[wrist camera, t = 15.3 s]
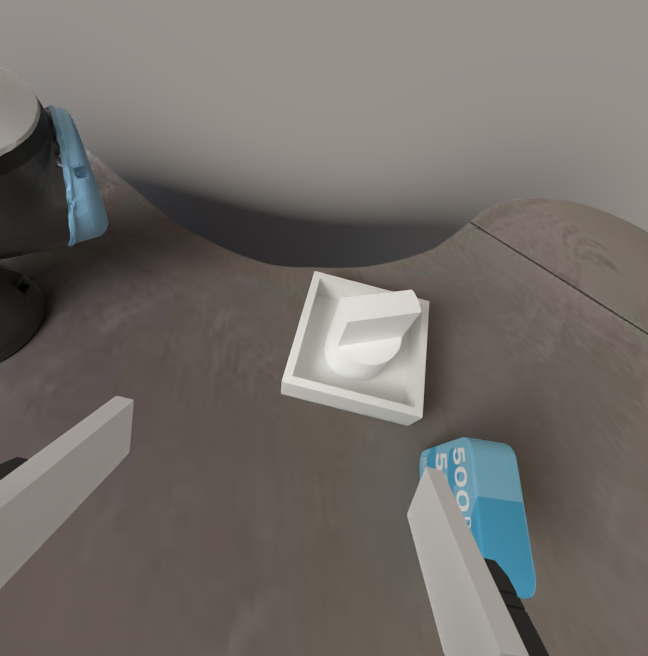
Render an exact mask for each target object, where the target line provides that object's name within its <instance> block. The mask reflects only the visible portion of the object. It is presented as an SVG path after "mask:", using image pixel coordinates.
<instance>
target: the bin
mask: <svg viewBox="0 0 648 656" xmlns="http://www.w3.org/2000/svg"><path fill="white" fill-rule="evenodd" d="M387 292H392V291H389V290H385V289H381V288H377V287H373V286H370V285H366V284H362V283H358V282H354V281H351V280H347V279H343V278H339V277H336V276H332V275H328V274H324V273H320V272H317V271H314V275H313V278H312V282H311V285H310V288H309V292H308V295H307V298H306V302H305V305H304V308H303V312H302V315H301V319H300V322H299V325H298V329H297V332H296V335H295V339H294V342H293V345H292V349H291V352H290V356H289V359H288V362H287V366H286V369H285V372H284V376H283V379H282V385H281V394H284V395H288V396H292V397H295V398H299V399H303V400H307V401H311V402H315V403H319V404H323V405H327V406H331V407H335V408H338V409H342V410H346V411H350V412H354V413H358V414H362V415H366V416H370V417H374V418H378V419H381V420H385V421H389V422H393V423H397V424H401V425H405V426H409V425H410V424H412V423H414V422H416V421H418V420H419V419H421V418H422V417H423V400H424V384H425V367H426V350H427V333H428V316H429V301H427V300H423V299H419V298H418V300H419V304H420V307H421V313H420V314H419V316H418V317H417V318H416V319H415V321H414V322H413V323H412V325H411V326H410V327H409V328H408V330H407V331H406V332H405V333H404V335H403V336H402V340H401V345H400V348H399V350H398V352H397V353H396V354H395V356H394V357H393V358H392V359H391V360H390V362H389V363H388V364H387V365H386V366H385V368H384V369H383V370H382V371H381V372H380V374H379V375H377V376H376V377H374V378H373V379H370V380H367V381H357V382H356V381H351V380H347V379H345V378H343V377H341V376H339V375H338V374H337V373H336V372H335V371H333V370H332V368H331V367H330V365H329V364H328V362H327V360H326V357H325V351H324V346H325V341H326V338H327V335H328V332H329V329H330V325H331V322H332V319H333V317H334V316H335V313H336V310H337V307H338V304H339V301H340V298H344V297H353V296H361V295H370V294H379V293H387Z"/></svg>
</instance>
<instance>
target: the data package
mask: <svg viewBox="0 0 648 656" xmlns="http://www.w3.org/2000/svg"><path fill="white" fill-rule="evenodd" d="M419 466H420V480H421V477H422V475H423V472H424V470H425V467H430V468H434V469H438V470H442V471H443V473H444V475H445V477H446V480H447V482H448V484H449V486H450V488H451V490H452V492H453V494H454V497H455V499H456V501H457V503H458V505H459V507H460V509H461V512H462V514H463V516H464V518H465V520H466V522H467V524H468V526H469V529H470V531H471V533H472V535H473V537H474V539H475V541H476V544H477V546H478V548H479V550H480V552H481V554H482V556H483V558H487V559H491V560H495V561H496V562H497V563H498V565H499V566H500V567H501V568H502V569H503V571H504V572H505V573H506V574H507V576H508V577H509V579H510V581H511V583H512V585H513V587H514V589H515V590H516V592H517V597H519V598H524V599H528V598H531V597H532V596H533V595H534V593H535V591H536V574H535V568H534V562H533V555H532V549H531V543H530V537H529V531H528V525H527V519H526V513H525V507H524V501H523V495H522V489H521V483H520V477H519V471H518V464H517V459H516V455H515V453H514V451H513V449H512V448H511V447H510V446H509V445H507V444H505V443H500V442H493V441H487V440H481V439H474V438H468V437H461V438H458V439H455V440H452V441H449V442H447V443H444V444H441V445H438V446H435V447H432V448H429V449H426V450H424V451H423V452H422V454H421V457H420V463H419Z"/></svg>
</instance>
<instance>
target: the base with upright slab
mask: <svg viewBox="0 0 648 656" xmlns="http://www.w3.org/2000/svg"><path fill="white" fill-rule="evenodd" d="M420 313H421V307H420V304H419V300H418V298H417V297H416V295H415V293H414V292H413V291H412V290H405V291H396V292H387V293H379V294H370V295H361V296H353V297H344V298H340V301H339V304H338V307H337V310H336V313H335V316H334V317H333V319H332V322H331V325H330V329H329V332H328V335H327V338H326V341H325V346H324V351H325V357H326V360H327V362H328V364H329V365H330V367H331V368H332V370H333V371H335V372H336V373H337V374H338V375H339V376H341V377H343V378H345V379H347V380H351V381H356V382H357V381H367V380H370V379H373V378H374V377H376V376H377V375H379V374H380V372H381V371H382V370H383V369H384V368H385V366H386V365H387V364H388V363H389V362H390V360H391V359H392V358H393V357H394V356H395V354H396V353H397V352H398V350H399V348H400V345H401V340H402V336H403V335H404V333H405V332H406V331H407V330H408V328H409V327H410V326H411V325H412V323H413V322H414V321H415V319H416V318H417V317H418V316H419V314H420Z"/></svg>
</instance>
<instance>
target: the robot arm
mask: <svg viewBox="0 0 648 656" xmlns="http://www.w3.org/2000/svg"><path fill="white" fill-rule="evenodd" d="M107 227H108V219H107V215H106V211H105V208H104V204H103V201H102V198H101V195H100V192H99V189H98V186H97V183H96V180H95V177H94V174H93V171H92V168H91V165H90V163H89V160H88V157H87V154H86V151H85V149H84V146H83V143H82V141H81V138H80V135H79V133H78V130H77V128H76V125H75V123H74V121H73V119H72V117H71V115H70V114H69V112H68V111H67V110H65V109H63V108H56V107H54V106H48V107H46V108H43V106H42V105H41V103H40V101H39V100H38V98H37V96H36V95H35V93H34V92H33V90H32V89H31V88H30V87H29V85H28V84H27V83H26V82H25V81H24V80H23V79H22V78H20V77H19V76H17V75H16V74H14V73H12V72H11V71H8V70H7V69H5V68H2V67H0V259H5V258H10V257H15V256H20V255H25V254H30V253H35V252H40V251H45V250H50V249H55V248H60V247H65V246H73V245H75V243H78V242H82V241H85V240H89V239H92V238H96V237H99V236H101V235H102V234H103V233H104V232H105V231H106V229H107ZM44 313H45V298H44V295H43V293H42V291H41V289H40V288H39V286H38V285H37V284H36V283H35V282H34V281H33V280H31V279H30V278H29V277H28V276H27V275H26V274H25V273H23V272H22V271H20V270H19V269H17V268H15V267H13V266H11V265H8V264H6V263H4V262H2V261H0V361H2V360H4V359H5V358H7V357H9V356H10V355H12V354H13V353H15V352H16V351H17V350H19V349H20V348H21V347H22V346H23V345H24V344H25V343H26V342H28V340H29V339H30V338H31V337H32V336H33V335H34V333H35V332H36V331H37V329H38V327H39V326H40V324H41V322H42V319H43V316H44ZM133 404H134V400H132V399H128V398H123V397H119V396H115V397H114V398H113V399H111V400H110V401H108V402H107V403H106V404H104V405H103V406H102V407H100V408H99V409H98V410H96V411H95V412H93V413H92V414H91V415H89V416H88V417H87V418H85V419H84V420H82V421H81V422H80V423H78V424H77V425H76V426H74V427H73V428H71V429H70V430H69V431H67V432H66V433H65V434H63V435H62V436H60V437H59V438H58V439H56V440H55V441H54V442H52V443H51V444H49V445H48V446H47V447H45V448H44V449H43V450H41V451H40V452H38V453H37V454H36V455H34V456H33V457H32V458H30V459H24V458H20V457H16V458H14V459H11V460H9V461H7V462H4V463H2V464H0V589H1V588H2V587H3V585H4V584H5V583H6V582H7V581H8V580H9V579H10V578H11V577H12V576H13V575H14V574H15V573H16V572H17V571H18V570H19V569H20V568H21V566H22V565H23V564H24V563H25V562H26V561H27V560H28V559H29V558H30V557H31V556H32V555H33V554H34V553H35V552H36V551H37V550H38V549H39V547H40V546H41V545H42V544H43V543H44V542H45V541H46V540H47V539H48V538H49V537H50V536H51V535H52V534H53V533H54V532H55V531H56V530H57V529H58V527H59V526H60V525H61V524H62V523H63V522H64V521H65V520H66V519H67V518H68V517H69V516H70V515H71V514H72V513H73V512H74V511H75V510H76V508H77V507H78V506H79V505H80V504H81V503H82V502H83V501H84V500H85V499H86V498H87V497H88V496H89V495H90V494H91V493H92V492H93V491H94V490H95V488H96V487H97V486H98V485H99V484H100V483H101V482H102V481H103V480H104V479H105V478H106V477H107V476H108V475H109V474H110V473H111V472H112V471H113V469H114V468H115V467H116V466H117V465H118V464H119V463H120V462H121V461H122V460H123V459H124V458H125V457H126V456H127V455H128V454H129V450H130V439H131V427H132V416H133ZM407 517H408V521H409V524H410V528H411V532H412V536H413V539H414V543H415V547H416V551H417V555H418V558H419V562H420V566H421V570H422V573H423V577H424V581H425V585H426V588H427V592H428V596H429V600H430V603H431V607H432V611H433V615H434V618H435V622H436V626H437V630H438V633H439V637H440V641H441V645H442V648H443V652H444V656H549V654H548V652H547V650H546V649H545V647H544V645H543V643H542V641H541V639H540V637H539V635H538V633H537V631H536V629H535V627H534V625H533V623H532V621H531V620H530V618H529V616H528V614H527V612H525V608H524V606H523V604H522V602H521V600H520V598H519V597H517V592H516V590H515V589H514V587H513V585H512V583H511V581H510V579H509V577H508V576H507V574H506V573H505V572H504V571H503V569H502V568H501V567H500V566H499V565H498V563H497V562H496V561H495V560H491V559H487V558H483V556H482V554H481V552H480V550H479V548H478V546H477V544H476V541H475V539H474V537H473V535H472V533H471V531H470V529H469V526H468V524H467V522H466V520H465V518H464V516H463V514H462V512H461V509H460V507H459V505H458V503H457V501H456V499H455V497H454V494H453V492H452V490H451V488H450V486H449V484H448V482H447V480H446V477H445V475H444V473H443V471H442V470H438V469H434V468H430V467H425V470H424V472H423V475H422V477H421V480H420V482H419V485H418V487H417V490H416V493H415V495H414V498H413V500H412V503H411V505H410V508H409V510H408V513H407Z"/></svg>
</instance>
